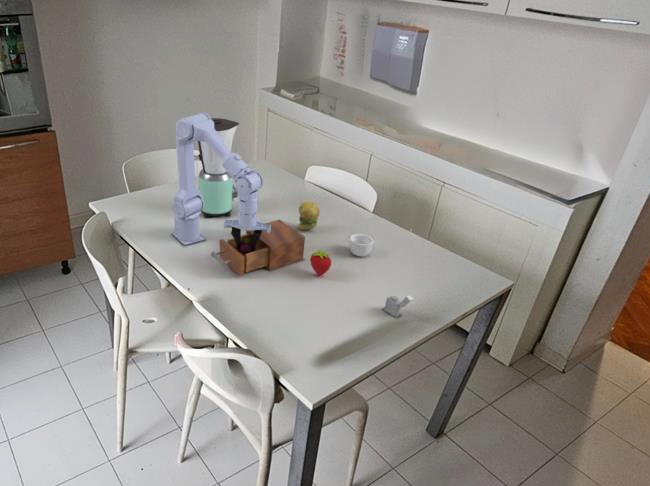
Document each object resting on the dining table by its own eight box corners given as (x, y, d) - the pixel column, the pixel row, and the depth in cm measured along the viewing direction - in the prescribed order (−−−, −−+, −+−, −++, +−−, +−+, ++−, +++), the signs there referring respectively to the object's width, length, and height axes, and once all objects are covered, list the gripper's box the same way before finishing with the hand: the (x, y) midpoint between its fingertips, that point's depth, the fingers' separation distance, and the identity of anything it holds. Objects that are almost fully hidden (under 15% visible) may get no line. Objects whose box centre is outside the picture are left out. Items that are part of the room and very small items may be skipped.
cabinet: (269, 270, 168) (270, 247, 163) (245, 251, 178) (246, 228, 173) (302, 259, 174) (305, 236, 170) (278, 241, 184) (279, 219, 179)
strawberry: (318, 284, 162) (321, 256, 157) (304, 272, 167) (307, 245, 162) (333, 279, 164) (337, 251, 159) (319, 267, 170) (322, 241, 165)
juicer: (233, 202, 210) (235, 114, 191) (240, 217, 199) (243, 125, 180) (186, 205, 206) (183, 116, 187) (191, 221, 195) (188, 128, 176)
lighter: (383, 309, 152) (388, 287, 147) (387, 307, 153) (392, 285, 148) (404, 322, 147) (410, 298, 143) (407, 319, 148) (413, 296, 144)
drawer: (227, 280, 161) (227, 262, 157) (206, 261, 170) (206, 243, 166) (273, 265, 169) (274, 247, 165) (251, 248, 178) (252, 230, 174)
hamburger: (310, 223, 196) (314, 194, 189) (321, 232, 190) (325, 202, 184) (293, 227, 193) (295, 197, 186) (303, 236, 187) (306, 205, 181)
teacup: (375, 254, 178) (378, 240, 175) (360, 261, 174) (363, 247, 171) (353, 242, 184) (355, 229, 182) (338, 249, 180) (340, 235, 178)
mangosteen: (237, 250, 170) (237, 237, 167) (250, 248, 171) (250, 236, 168) (241, 257, 166) (242, 244, 164) (254, 255, 167) (255, 242, 165)
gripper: (273, 207, 163) (270, 245, 170) (227, 203, 165) (226, 240, 172) (270, 217, 157) (267, 256, 164) (222, 212, 159) (222, 251, 166)
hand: (246, 249), depth 168 cm, fingers closed on mangosteen, 4 cm apart
